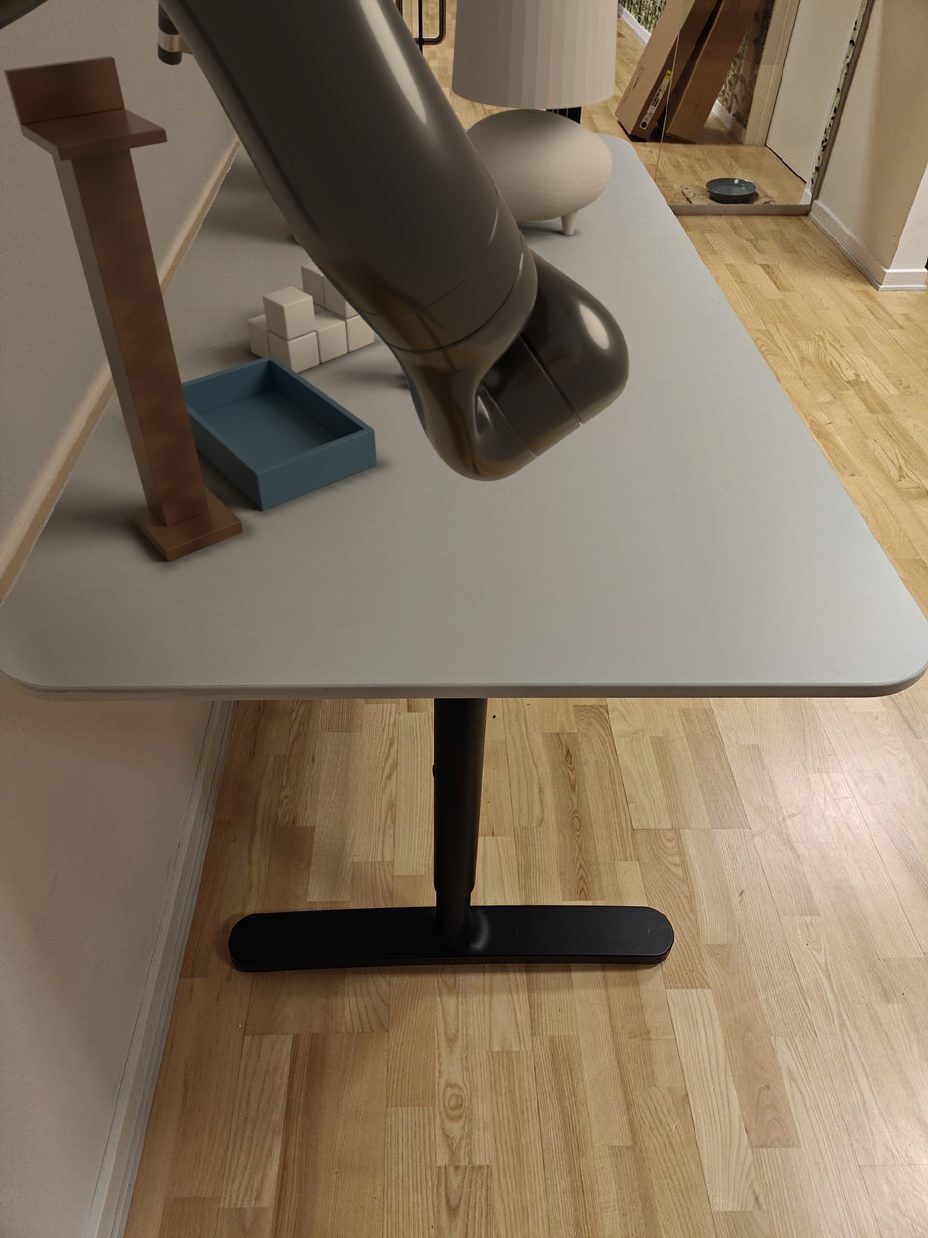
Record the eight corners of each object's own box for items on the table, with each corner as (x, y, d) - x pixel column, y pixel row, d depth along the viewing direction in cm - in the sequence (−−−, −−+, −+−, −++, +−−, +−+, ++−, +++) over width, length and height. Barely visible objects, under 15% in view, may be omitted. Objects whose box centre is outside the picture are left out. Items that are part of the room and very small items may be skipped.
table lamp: (589, 208, 143) (619, -120, 117) (623, 259, 127) (667, -106, 101) (443, 213, 141) (440, -120, 114) (459, 265, 125) (460, -106, 98)
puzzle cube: (312, 311, 114) (305, 246, 109) (375, 342, 108) (370, 275, 102) (231, 340, 108) (219, 273, 102) (292, 375, 101) (283, 306, 96)
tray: (377, 465, 88) (374, 429, 85) (262, 511, 82) (256, 474, 80) (276, 388, 99) (271, 354, 97) (169, 423, 93) (161, 389, 91)
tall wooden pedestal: (168, 562, 77) (42, 91, 53) (134, 523, 81) (3, 69, 57) (243, 531, 80) (155, 74, 56) (207, 495, 84) (110, 55, 60)
